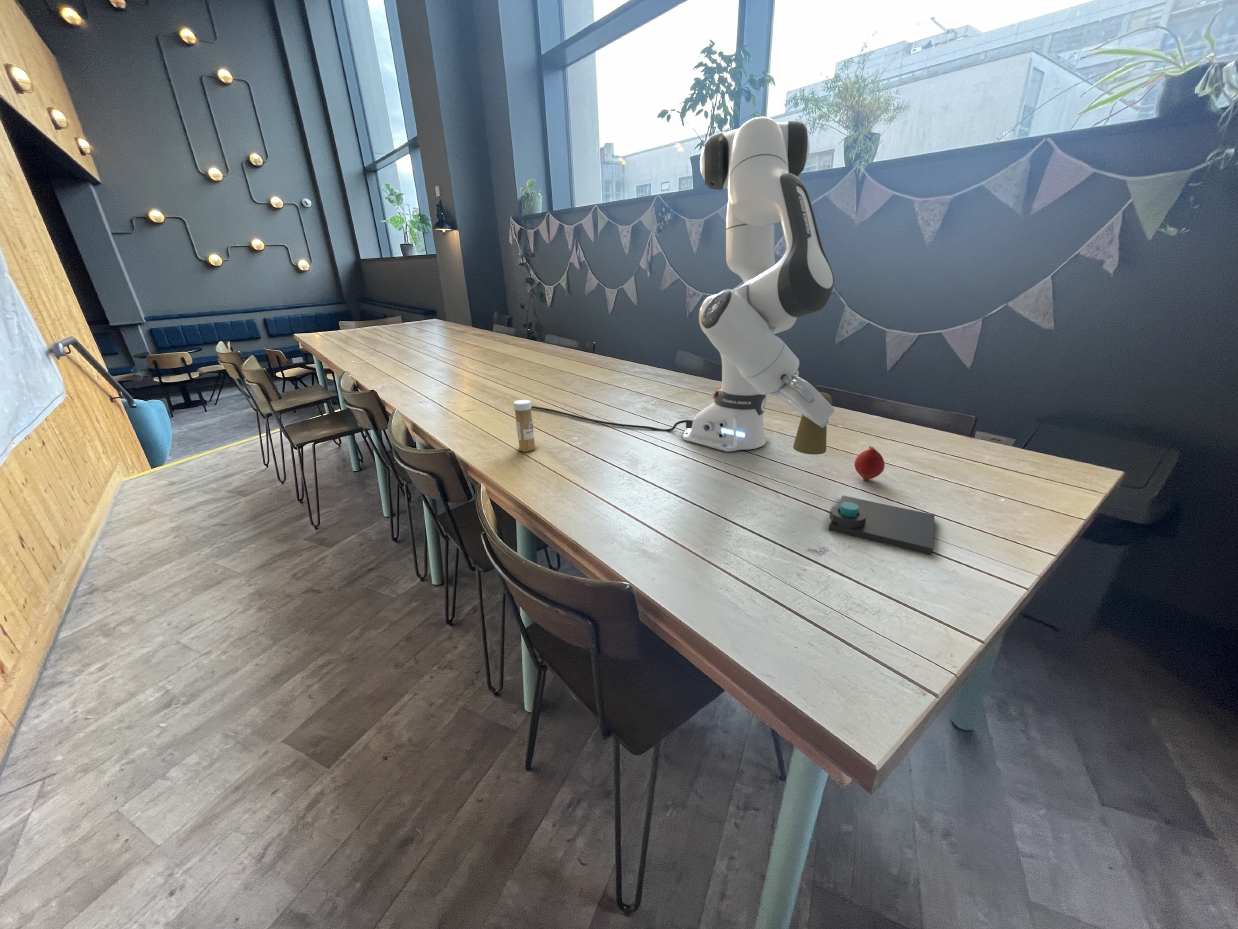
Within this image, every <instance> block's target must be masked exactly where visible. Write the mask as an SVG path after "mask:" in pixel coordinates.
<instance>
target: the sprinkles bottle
mask: <svg viewBox="0 0 1238 929" xmlns="http://www.w3.org/2000/svg"><path fill="white" fill-rule="evenodd" d="M531 401H532V400H529V399H519V400H515V401H514V402H513V410H514V414H515V424H516V432H517V439H518V446H519V447H518V449H519V451H521V452H526V453H527V452H531V451H534V450H535V449H536V441H535V429H534V421H533V414H532V408H531V406H532V402H531Z"/></svg>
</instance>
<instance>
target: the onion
mask: <svg viewBox="0 0 1238 929" xmlns="http://www.w3.org/2000/svg"><path fill="white" fill-rule="evenodd" d="M853 465H854V469H855V471H856V473H857V474H858V475H859V476H860V477H861V478H862V479H863V480H864V481H869V480H872V479H875V478H876V477H879V475H881V474H882V473H883V472H884V470H885V460H884V458H883V456H882V454H881V453H880V452H879V451H878V450H877V449H875V447H874V446H873V445H868V449H866V450H864V451H862V452H860V453H859V454H858V455H857V456H856V457H855V460H854V464H853Z"/></svg>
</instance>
